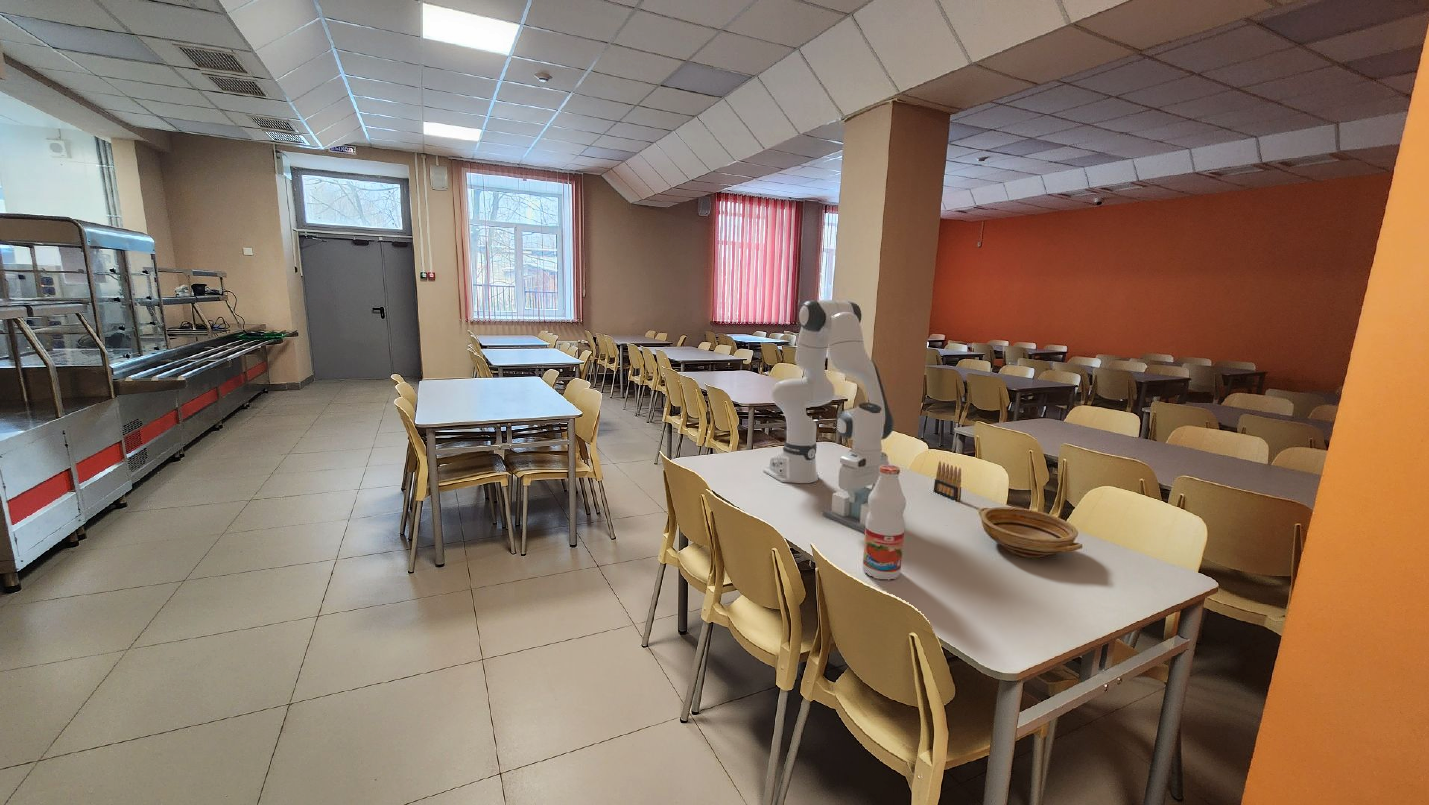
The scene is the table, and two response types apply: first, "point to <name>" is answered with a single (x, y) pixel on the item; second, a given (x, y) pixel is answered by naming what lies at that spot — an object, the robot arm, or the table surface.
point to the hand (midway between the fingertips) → (862, 498)
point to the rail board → (845, 520)
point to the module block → (860, 500)
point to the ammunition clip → (948, 482)
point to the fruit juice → (885, 526)
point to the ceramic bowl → (1029, 531)
